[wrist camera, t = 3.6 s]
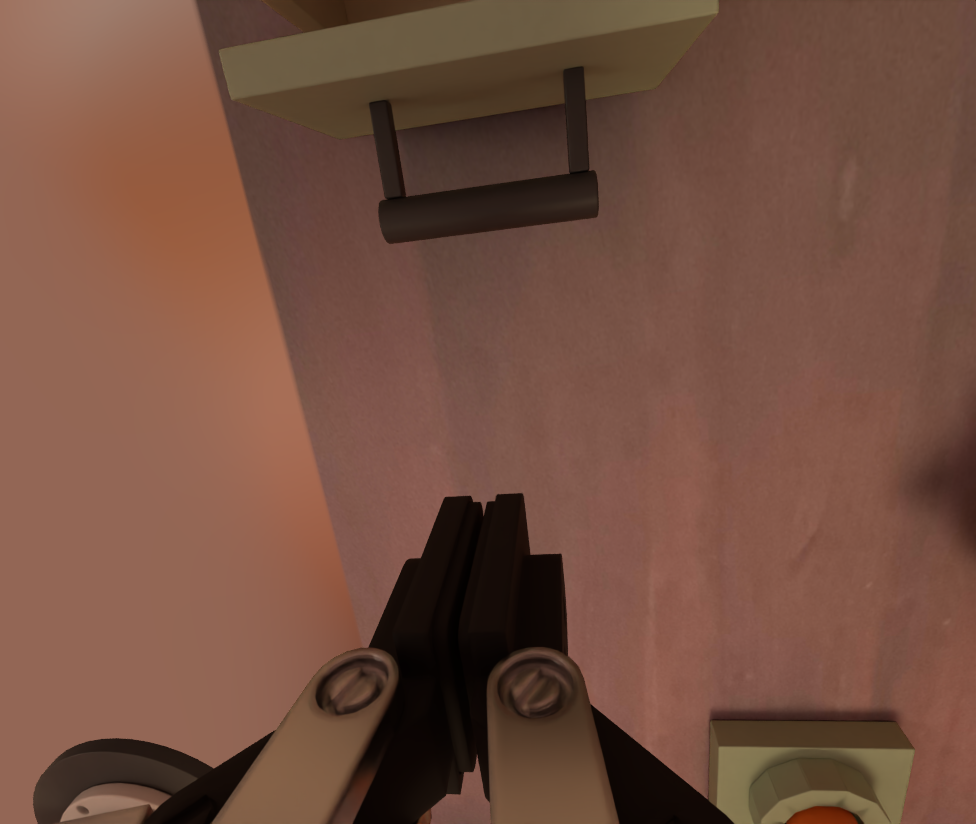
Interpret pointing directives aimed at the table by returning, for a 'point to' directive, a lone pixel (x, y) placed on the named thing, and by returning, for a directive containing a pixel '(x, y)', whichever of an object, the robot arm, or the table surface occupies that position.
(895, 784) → the control block
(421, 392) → the table surface
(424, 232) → the cabinet drawer
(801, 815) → the button
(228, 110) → the table surface
